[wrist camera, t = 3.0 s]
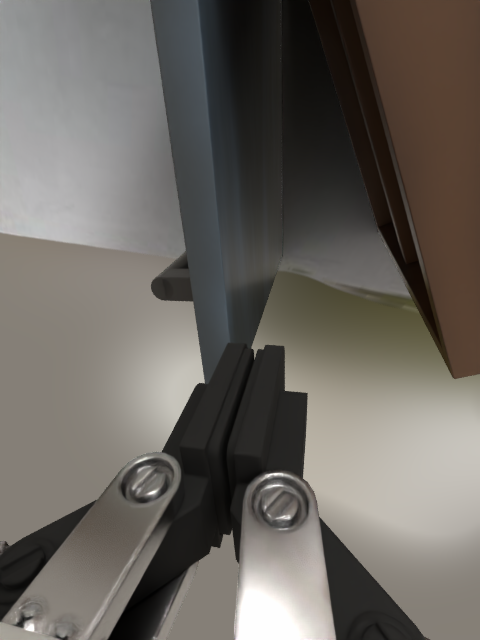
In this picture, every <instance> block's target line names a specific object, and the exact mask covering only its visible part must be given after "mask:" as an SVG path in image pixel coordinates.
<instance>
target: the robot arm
mask: <svg viewBox="0 0 480 640" xmlns="http://www.w3.org/2000/svg"><path fill="white" fill-rule="evenodd" d="M284 360H285V350H284V346H275V345H265V347H264V350H261V349H258V351H257V354H256V357H255V360H254V350H253V349H248V347H247V344H244V343H228V344H227V345H226V347H225V350H224V352H223V354H222V356H221V358H220V360H219V362H218V364H217V366H216V369H215V371H214V373H213V375H212V377H211V379H210V381H209V383H208V384H204V383H199V384H197V386H196V387H195V388H194V391H193V392H192V394H191V396H190V398H189V400H188V402H187V404H186V406H185V408H184V410H183V412H182V414H181V416H180V417H179V420H178V421H177V423H176V425H175V427H174V429H173V431H172V433H171V435H170V437H169V439H168V441H167V443H166V445H165V446H164V448H163V450H162V452H153V453H146V454H143V455H141V456H138V457H137V458H135V459H133V460H132V461H130V462H128V463H127V464H126V465H125V466H124V467H123V468H122V469H121V471H120V472H119V473H118V474H117V475H116V477H115V478H114V479H113V481H112V482H111V483H110V484H109V486H108V487H107V488H106V489H105V491H104V492H103V493H102V495H101V496H100V497H99V498H98V499H97V500H95V501H94V502H92V503H90V504H88V505H86V506H84V507H82V508H80V509H78V510H76V511H74V512H72V513H70V514H68V515H66V516H65V517H63V518H61V519H59V520H57V521H55V522H53V523H51V524H49V525H47V526H45V527H43V528H41V529H40V530H38V531H36V532H34V533H32V534H30V535H28V536H26V537H24V538H22V539H21V540H19V541H18V542H16V543H15V544H13V545H12V546H9V545H8V544H7V542H6V541H0V640H167V637H168V635H169V633H170V631H171V628H172V626H173V624H174V621H175V619H176V617H177V614H178V612H179V610H180V608H181V606H182V603H183V601H184V599H185V596H186V594H187V592H188V589H189V587H190V585H191V583H192V580H193V578H194V576H195V573H196V570H197V567H198V564H199V560H200V559H202V558H203V557H205V556H206V555H208V554H209V552H210V549H211V546H213V547H218V548H220V546H221V542H222V538H223V534H226V535H230V534H231V531H232V530H233V538H234V547H235V555H236V560H237V562H238V563H239V575H238V588H237V604H236V605H237V606H236V619H235V635H234V640H430V639H427V638H426V637H424V636H423V635H422V634H421V632H420V631H419V629H418V628H417V626H416V625H415V624H414V623H413V622H412V621H411V620H410V619H409V617H408V616H407V615H406V614H405V613H404V612H403V611H402V610H401V609H400V607H399V606H398V605H397V604H396V603H395V602H394V601H393V599H392V598H391V597H390V596H389V595H388V594H387V593H386V591H385V590H384V589H383V588H382V587H381V586H380V585H379V584H378V583H377V581H376V580H375V579H374V578H373V577H372V576H371V575H370V573H369V572H368V571H367V570H366V569H365V568H364V567H363V566H362V564H361V563H360V562H359V561H358V560H357V559H356V558H355V557H354V555H353V554H352V553H351V552H350V551H349V550H348V549H347V548H346V546H345V545H344V544H343V543H342V542H341V541H340V540H339V538H338V537H337V536H336V535H335V534H334V533H333V532H332V531H331V529H330V528H329V527H328V526H327V525H326V524H325V523H324V522H323V520H322V519H321V518H320V517H319V514H318V506H317V500H316V497H315V494H314V491H313V490H312V488H311V487H310V485H309V484H308V482H307V481H305V480H304V479H303V468H304V453H305V438H306V420H307V393H301V392H289V391H285V361H284Z"/></svg>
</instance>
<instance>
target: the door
mask: <svg viewBox="0 0 480 640" xmlns="http://www.w3.org/2000/svg"><path fill="white" fill-rule="evenodd" d="M150 2H151V9H152V16H153V23H154V30H155V37H156V44H157V51H158V58H159V65H160V72H161V79H162V86H163V93H164V100H165V107H166V114H167V121H168V128H169V135H170V142H171V149H172V156H173V163H174V170H175V177H176V184H177V191H178V198H179V205H180V212H181V218H182V225H183V232H184V239H185V246H186V252H185V253H183V254H182V255H181V256H180V257H179V258H178V259H177V260H175V261H174V262H173V263H172V264H171V265H170V266H169V267H167V268H166V269H165V270H164V271H163V272H162V273H161V274H160V275H158V276H157V277H156V278H155V279H154V280H153V281H152V284H151V289H152V292H153V294H154V295H155V296H156V297H157V298H159V299H161V300H170V301H193V302H194V309H195V316H196V323H197V330H198V337H199V344H200V351H201V357H202V365H203V372H204V379H205V384H208V383H209V381H210V379H211V377H212V375H213V373H214V371H215V369H216V366H217V364H218V362H219V360H220V358H221V356H222V354H223V352H224V350H225V347H226V345H227V344H228V343H244V344H247V347H248V349H251V346H252V343H253V341H254V338H255V335H256V332H257V329H258V326H259V323H260V320H261V317H262V314H263V311H264V308H265V305H266V302H267V300H268V297H269V294H270V291H271V288H272V285H273V282H274V279H275V276H276V273H277V270H278V267H279V264H280V261H281V259H282V256H283V224H282V43H281V0H150Z"/></svg>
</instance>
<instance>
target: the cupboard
mask: <svg viewBox="0 0 480 640" xmlns="http://www.w3.org/2000/svg"><path fill="white" fill-rule="evenodd" d="M308 1H309V4H310V7H311V11H312V14H313V17H314V21H315V24H316V27H317V30H318V34H319V37H320V40H321V44H322V47H323V50H324V54H325V57H326V60H327V64H328V67H329V70H330V73H331V77H332V80H333V83H334V87H335V90H336V93H337V97H338V100H339V103H340V106H341V110H342V113H343V116H344V120H345V123H346V126H347V130H348V133H349V136H350V139H351V143H352V146H353V149H354V153H355V156H356V159H357V163H358V166H359V169H360V173H361V176H362V179H363V182H364V186H365V189H366V192H367V196H368V199H369V202H370V206H371V209H372V212H373V215H374V219H375V222H376V225H377V229H378V232H379V235H380V237H381V239H382V240H383V242H384V244H385V246H386V248H387V250H388V252H389V254H390V256H391V258H392V260H393V262H394V264H395V266H396V268H397V270H398V272H399V274H400V276H401V277H402V279H403V281H404V283H405V285H406V287H407V289H408V291H409V293H410V295H411V297H412V299H413V301H414V303H415V305H416V307H417V309H418V311H419V313H420V314H421V316H422V318H423V320H424V322H425V324H426V326H427V328H428V330H429V332H430V334H431V336H432V338H433V340H434V342H435V344H436V345H437V347H438V350H439V351H440V353H441V355H442V357H443V359H444V361H445V363H446V365H447V367H448V369H449V371H450V373H451V375H452V377H453V378H454V379H457V378H462V377H467V376H472V375H477V374H480V0H308Z"/></svg>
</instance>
